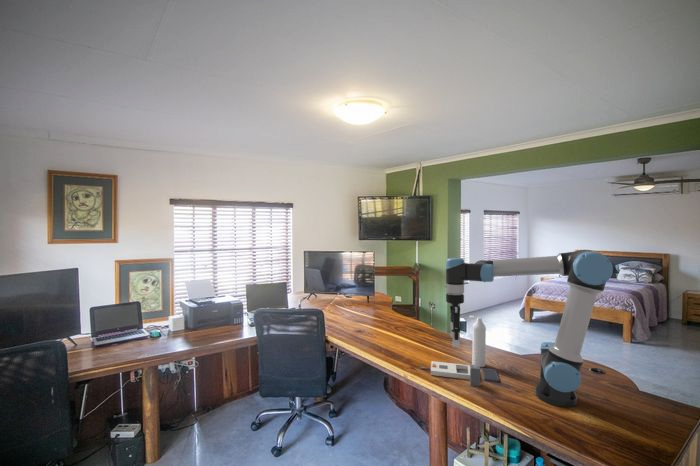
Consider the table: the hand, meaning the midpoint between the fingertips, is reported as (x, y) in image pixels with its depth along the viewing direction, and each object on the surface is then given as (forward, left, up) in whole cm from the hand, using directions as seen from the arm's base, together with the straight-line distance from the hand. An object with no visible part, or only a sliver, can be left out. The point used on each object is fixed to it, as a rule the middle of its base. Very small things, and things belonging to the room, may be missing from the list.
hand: (455, 341), depth 148 cm
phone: (-17, -21, -23) cm, 35 cm away
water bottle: (-12, -34, -22) cm, 43 cm away
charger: (-9, -10, -22) cm, 26 cm away
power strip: (+2, -20, -22) cm, 30 cm away
